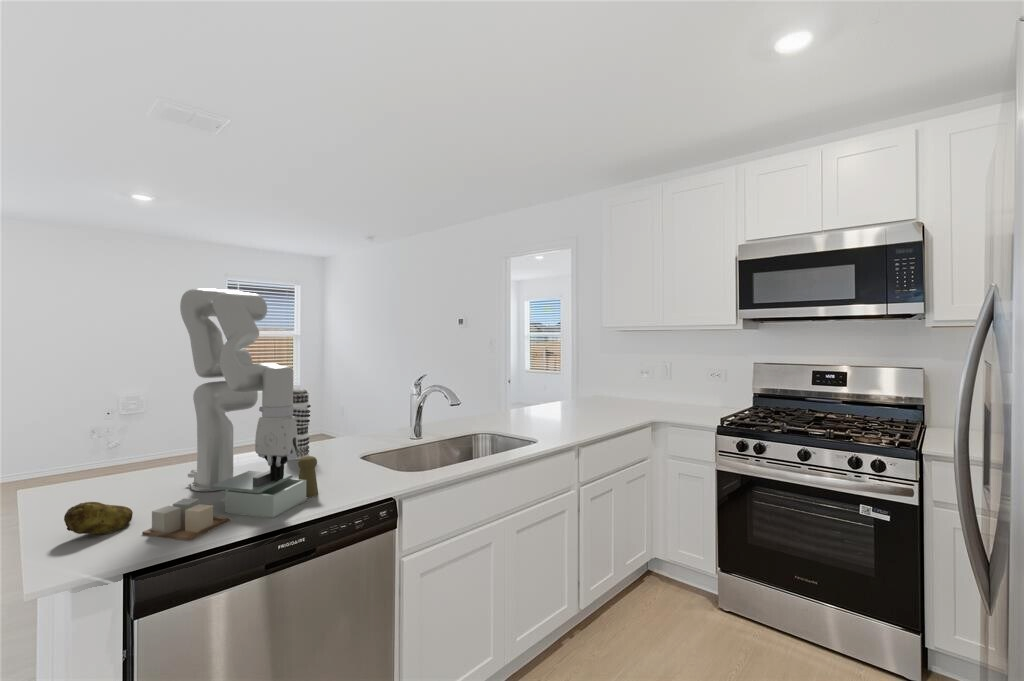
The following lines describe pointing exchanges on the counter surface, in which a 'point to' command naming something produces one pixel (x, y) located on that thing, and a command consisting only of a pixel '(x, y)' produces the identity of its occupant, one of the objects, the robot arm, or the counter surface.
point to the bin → (267, 499)
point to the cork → (308, 474)
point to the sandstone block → (198, 518)
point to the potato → (97, 518)
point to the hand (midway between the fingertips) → (277, 479)
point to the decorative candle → (301, 421)
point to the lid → (250, 482)
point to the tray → (186, 534)
